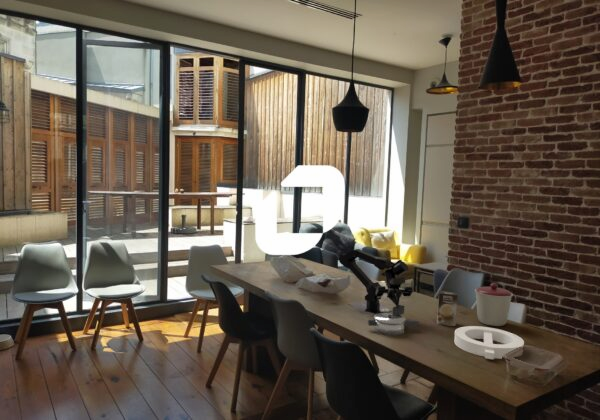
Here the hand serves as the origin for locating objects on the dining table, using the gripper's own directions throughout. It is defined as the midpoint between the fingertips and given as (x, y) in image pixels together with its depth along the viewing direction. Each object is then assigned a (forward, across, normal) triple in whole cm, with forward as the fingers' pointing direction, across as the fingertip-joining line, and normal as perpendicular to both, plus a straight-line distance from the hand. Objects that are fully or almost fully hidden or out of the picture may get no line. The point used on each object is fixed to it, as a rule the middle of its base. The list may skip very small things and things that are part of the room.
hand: (397, 305), depth 223 cm
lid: (+10, -7, -5) cm, 13 cm away
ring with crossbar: (+30, +30, -17) cm, 46 cm away
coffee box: (+8, +25, +5) cm, 27 cm away
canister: (+8, +50, +5) cm, 51 cm away
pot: (+14, -6, -2) cm, 16 cm away
